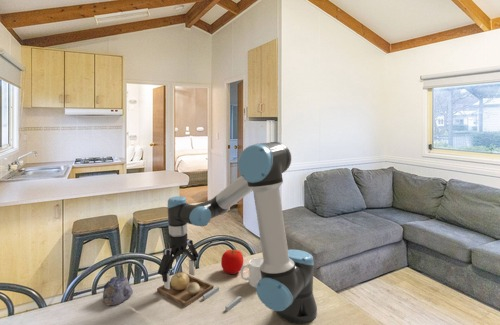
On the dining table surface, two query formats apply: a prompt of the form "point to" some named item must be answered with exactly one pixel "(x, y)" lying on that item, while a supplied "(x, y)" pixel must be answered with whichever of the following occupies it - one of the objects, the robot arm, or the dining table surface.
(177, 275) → the onion
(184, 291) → the tray
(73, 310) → the dining table surface
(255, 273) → the cup
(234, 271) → the tomato
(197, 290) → the ball
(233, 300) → the cradle
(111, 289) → the rock
